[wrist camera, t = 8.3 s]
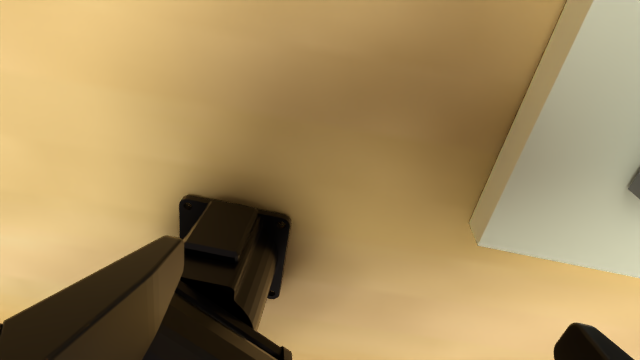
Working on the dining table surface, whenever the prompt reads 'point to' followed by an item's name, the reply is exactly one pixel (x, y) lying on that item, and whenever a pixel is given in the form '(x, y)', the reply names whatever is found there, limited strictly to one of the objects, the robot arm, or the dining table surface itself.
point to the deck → (574, 148)
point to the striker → (635, 186)
